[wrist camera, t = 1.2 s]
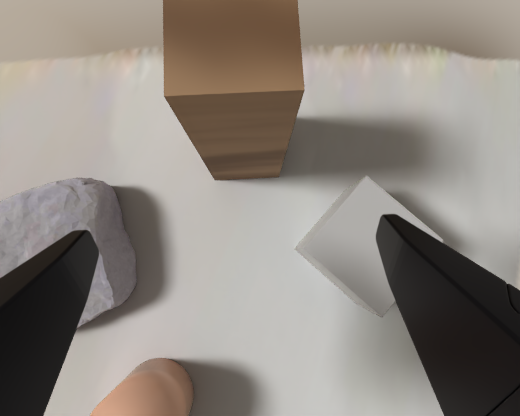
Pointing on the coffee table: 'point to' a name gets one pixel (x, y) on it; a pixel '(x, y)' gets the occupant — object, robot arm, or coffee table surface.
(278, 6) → the walnut block
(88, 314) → the stone block
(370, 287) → the grey faceted block
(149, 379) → the terracotta puck
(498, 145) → the coffee table surface
